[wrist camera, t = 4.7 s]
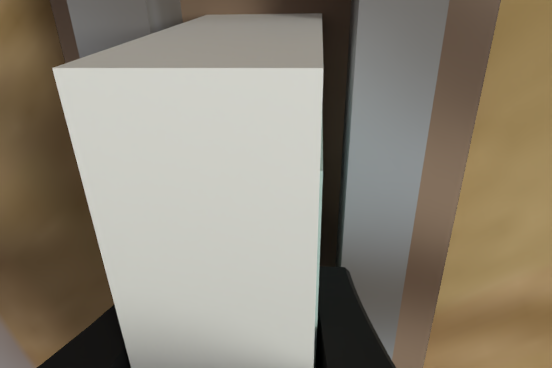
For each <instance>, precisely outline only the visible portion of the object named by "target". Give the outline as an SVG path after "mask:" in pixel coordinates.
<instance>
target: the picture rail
mask: <svg viewBox="0 0 552 368" xmlns="http://www.w3.org/2000/svg"><path fill="white" fill-rule="evenodd" d="M500 2H501V0H50V3H51V7H52V11H53V15H54V19H55V23H56V27H57V31H58V35H59V39H60V44H61V48H62V52H63V56H64V60H65V63H68V62H71V61H74V60H77V59H80V58H83V57H85V56H88V55H91V54H94V53H97V52H100V51H103V50H106V49H109V48H112V47H115V46H117V45H120V44H123V43H126V42H129V41H132V40H135V39H138V38H141V37H144V36H146V35H149V34H152V33H155V32H158V31H161V30H164V29H167V28H170V27H173V26H176V25H178V24H181V23H184V22H187V21H190V20H193V19H196V18H199V17H202V16H205V15H229V14H310V13H322V34H323V98H322V128H323V185H322V212H321V239H320V266H330V267H345V268H346V269H347V270H348V271H349V272H350V275H351V278H352V281H353V283H354V286H355V289H356V291H357V294H358V296H359V298H360V300H361V303H362V305H363V307H364V309H365V311H366V313H367V315H368V317H369V319H370V321H371V323H372V325H373V327H374V329H375V331H376V333H377V335H378V336H379V338H380V340H381V342H382V344H383V346H384V347H385V349H386V351H387V353H388V355H389V356H390V358H391V360H392V361H393V363H394V365H395V367H396V368H423V365H424V360H425V356H426V351H427V346H428V341H429V337H430V332H431V327H432V323H433V318H434V313H435V308H436V304H437V299H438V294H439V290H440V285H441V280H442V275H443V271H444V266H445V261H446V256H447V252H448V247H449V242H450V238H451V233H452V228H453V223H454V219H455V214H456V209H457V205H458V200H459V195H460V190H461V186H462V181H463V176H464V172H465V167H466V162H467V157H468V153H469V148H470V143H471V138H472V134H473V129H474V124H475V120H476V115H477V110H478V105H479V101H480V96H481V91H482V87H483V82H484V77H485V72H486V68H487V63H488V58H489V54H490V49H491V44H492V39H493V35H494V30H495V25H496V21H497V16H498V11H499V6H500Z"/></svg>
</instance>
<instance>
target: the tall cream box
mask: <svg viewBox="0 0 552 368" xmlns="http://www.w3.org/2000/svg"><path fill="white" fill-rule="evenodd" d="M52 69H53V73H54V77H55V81H56V85H57V88H58V92H59V96H60V100H61V104H62V107H63V111H64V115H65V119H66V123H67V126H68V130H69V134H70V138H71V142H72V145H73V149H74V153H75V157H76V161H77V164H78V168H79V172H80V176H81V180H82V183H83V187H84V191H85V195H86V198H87V202H88V206H89V210H90V214H91V217H92V221H93V225H94V229H95V233H96V236H97V240H98V244H99V248H100V252H101V255H102V259H103V263H104V267H105V271H106V274H107V278H108V282H109V286H110V290H111V293H112V297H113V301H114V305H115V309H116V312H117V316H118V320H119V324H120V328H121V331H122V335H123V339H124V343H125V347H126V350H127V354H128V358H129V362H130V366H131V368H316V347H317V320H318V293H319V266H320V239H321V212H322V185H323V128H322V98H323V34H322V13H310V14H229V15H205V16H202V17H199V18H196V19H193V20H190V21H187V22H184V23H181V24H178V25H176V26H173V27H170V28H167V29H164V30H161V31H158V32H155V33H152V34H149V35H146V36H144V37H141V38H138V39H135V40H132V41H129V42H126V43H123V44H120V45H117V46H115V47H112V48H109V49H106V50H103V51H100V52H97V53H94V54H91V55H88V56H85V57H83V58H80V59H77V60H74V61H71V62H68V63H65V64H62V65H59V66H56V67H54V68H52Z"/></svg>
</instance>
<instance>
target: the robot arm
mask: <svg viewBox="0 0 552 368" xmlns="http://www.w3.org/2000/svg"><path fill="white" fill-rule="evenodd" d="M37 368H131V366H130V362H129V358H128V354H127V350H126V347H125V343H124V339H123V335H122V331H121V328H120V324H119V320H118V316H117V312H116V309H115V305H113V306H112V307H111V308H110V309H109V310H107V311H106V312H105V313H104V314H103V315H102V316H100V317H99V318H98V319H97V320H96V321H95V322H94V323H92V324H91V325H90V326H89V327H88V328H86V329H85V330H84V331H83V332H81V333H80V334H79V335H78V336H76V337H75V338H74V339H73V340H71V341H70V342H69V343H68V344H66V345H65V346H64V347H63V348H61V349H60V350H59V351H58V352H56V353H55V354H54V355H53V356H51V357H50V358H49V359H48V360H46V361H45V362H44V363H43V364H41V365H40V366H39V367H37ZM316 368H396V367H395V365H394V363H393V361H392V360H391V358H390V356H389V355H388V353H387V351H386V349H385V347H384V346H383V344H382V342H381V340H380V338H379V336H378V335H377V333H376V331H375V329H374V327H373V325H372V323H371V321H370V319H369V317H368V315H367V313H366V311H365V309H364V307H363V305H362V303H361V300H360V298H359V296H358V294H357V291H356V289H355V286H354V283H353V281H352V278H351V275H350V272H349V271H348V270H347V269H346V268H345V267H330V266H319V293H318V320H317V347H316Z"/></svg>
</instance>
